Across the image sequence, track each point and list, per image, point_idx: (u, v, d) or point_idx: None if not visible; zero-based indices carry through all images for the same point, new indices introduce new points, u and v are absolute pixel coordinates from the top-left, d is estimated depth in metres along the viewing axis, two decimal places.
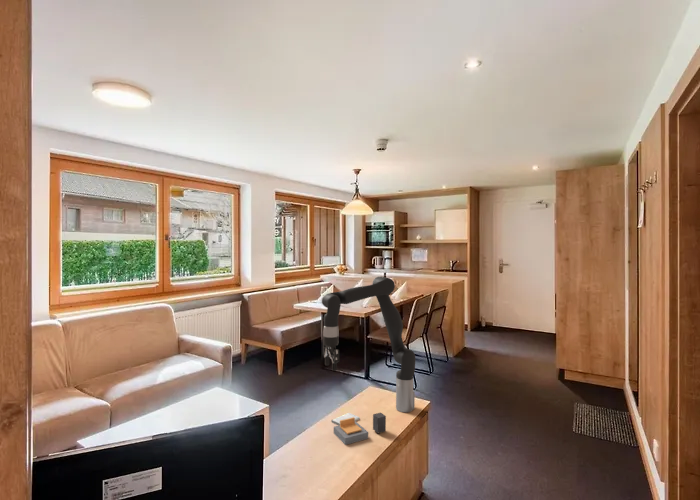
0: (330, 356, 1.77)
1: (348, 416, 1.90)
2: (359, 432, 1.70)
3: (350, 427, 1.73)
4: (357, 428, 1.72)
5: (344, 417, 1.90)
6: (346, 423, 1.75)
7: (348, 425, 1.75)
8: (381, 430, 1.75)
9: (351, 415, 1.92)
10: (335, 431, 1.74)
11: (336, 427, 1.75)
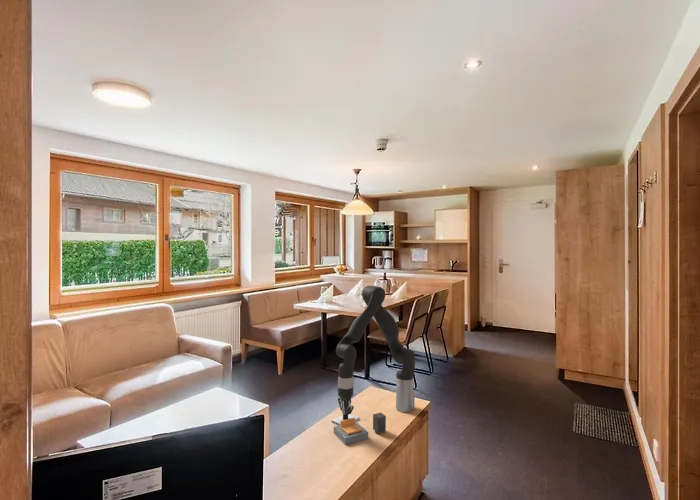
0: (343, 408, 1.76)
1: (348, 416, 1.90)
2: (359, 432, 1.70)
3: (350, 427, 1.73)
4: (357, 428, 1.72)
5: None
6: (346, 423, 1.75)
7: (348, 426, 1.74)
8: (381, 430, 1.75)
9: (351, 415, 1.92)
10: (335, 431, 1.74)
11: (336, 427, 1.75)
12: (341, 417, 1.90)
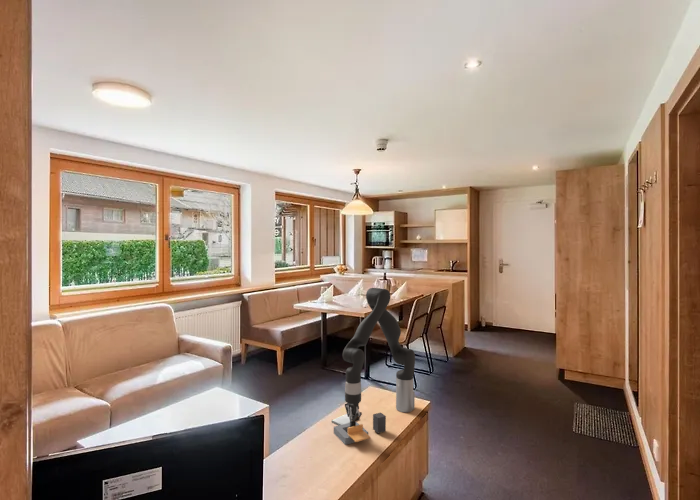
0: (351, 414, 1.69)
1: None
2: None
3: (358, 434, 1.66)
4: (366, 436, 1.65)
5: (344, 417, 1.89)
6: (354, 430, 1.69)
7: (356, 433, 1.68)
8: (381, 430, 1.75)
9: None
10: (335, 431, 1.74)
11: (336, 427, 1.75)
12: (341, 417, 1.90)
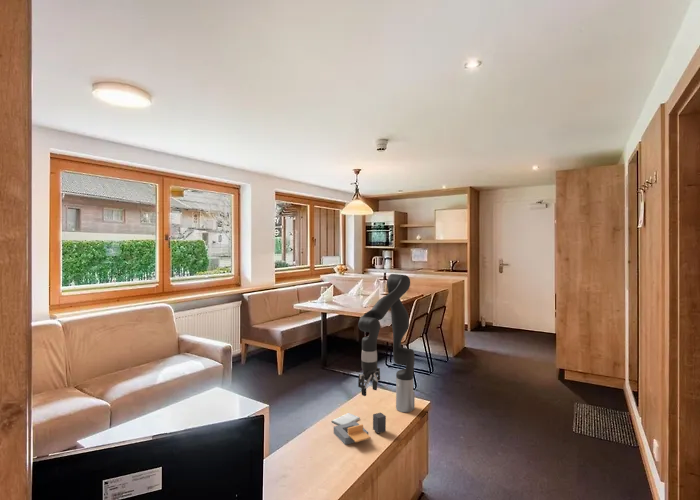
0: None
1: (348, 416, 1.90)
2: None
3: (358, 434, 1.66)
4: (366, 436, 1.65)
5: (344, 417, 1.89)
6: (354, 430, 1.68)
7: (356, 433, 1.68)
8: (381, 430, 1.75)
9: (351, 415, 1.92)
10: (335, 431, 1.74)
11: (336, 427, 1.75)
12: (341, 417, 1.90)
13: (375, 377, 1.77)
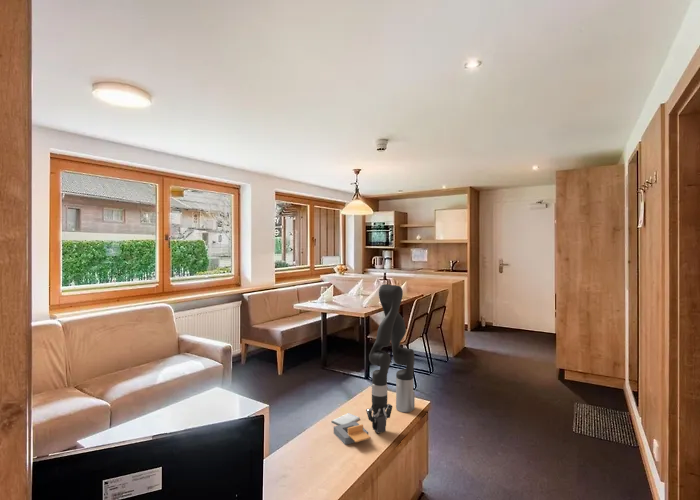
0: (373, 413, 1.77)
1: (348, 417, 1.90)
2: None
3: (358, 434, 1.66)
4: (366, 436, 1.65)
5: (344, 417, 1.89)
6: (354, 430, 1.68)
7: (356, 433, 1.68)
8: (381, 430, 1.75)
9: (351, 415, 1.92)
10: (335, 431, 1.74)
11: (336, 427, 1.75)
12: (341, 417, 1.89)
13: (384, 413, 1.76)
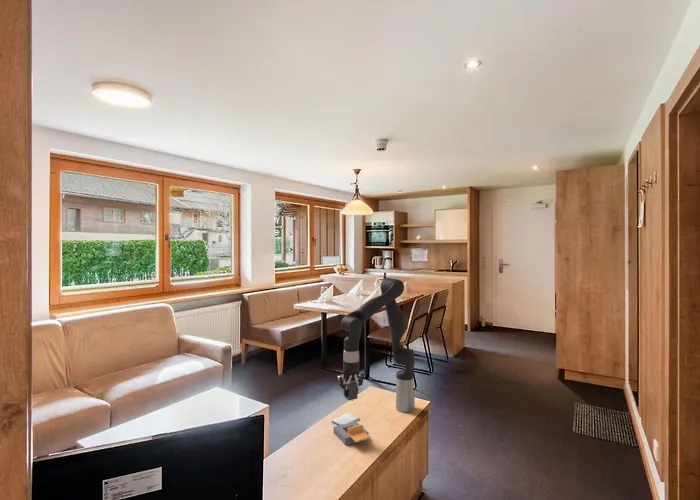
0: None
1: (348, 417, 1.90)
2: None
3: (358, 434, 1.66)
4: (366, 436, 1.65)
5: (344, 417, 1.89)
6: (354, 430, 1.68)
7: (356, 433, 1.68)
8: (352, 397, 1.71)
9: (351, 415, 1.92)
10: (335, 431, 1.74)
11: (336, 427, 1.75)
12: (341, 417, 1.89)
13: (356, 380, 1.72)
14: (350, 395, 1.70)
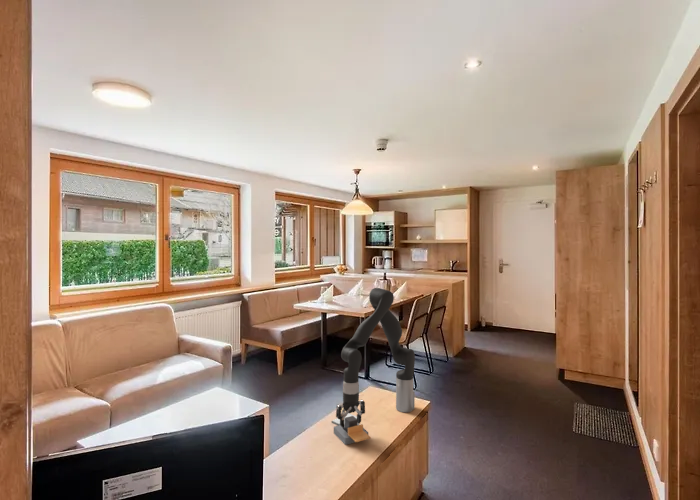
0: None
1: None
2: None
3: (358, 434, 1.66)
4: (366, 436, 1.65)
5: None
6: (354, 430, 1.68)
7: (356, 433, 1.68)
8: None
9: (351, 415, 1.92)
10: (335, 431, 1.74)
11: (336, 427, 1.75)
12: None
13: (357, 410, 1.73)
14: None
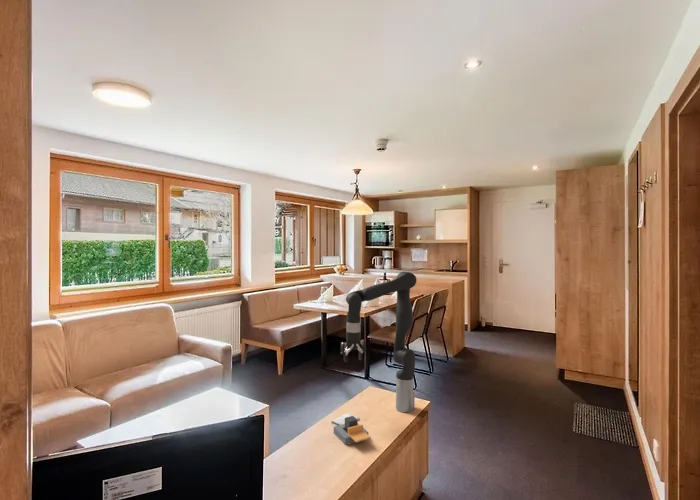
0: (346, 348, 1.96)
1: None
2: None
3: (358, 434, 1.66)
4: (366, 436, 1.65)
5: (344, 418, 1.89)
6: (354, 430, 1.68)
7: (356, 433, 1.68)
8: None
9: (351, 415, 1.92)
10: (335, 431, 1.74)
11: (336, 427, 1.75)
12: (341, 417, 1.89)
13: (358, 348, 1.96)
14: None
